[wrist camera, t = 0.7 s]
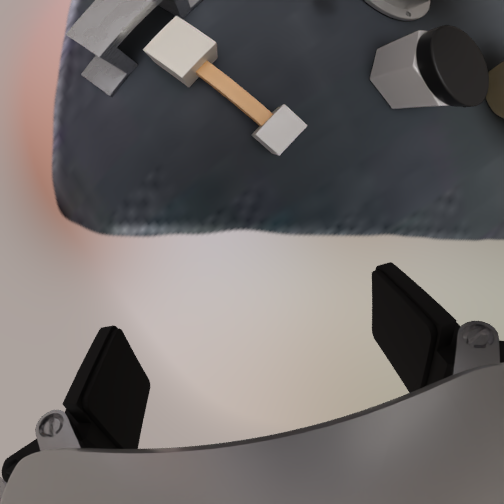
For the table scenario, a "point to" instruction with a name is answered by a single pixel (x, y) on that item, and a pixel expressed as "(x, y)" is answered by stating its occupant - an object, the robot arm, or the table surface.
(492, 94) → the plant pot
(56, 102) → the table surface
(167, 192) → the table surface
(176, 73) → the block ended dumbbell
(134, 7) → the block
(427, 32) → the jar
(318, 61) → the table surface
